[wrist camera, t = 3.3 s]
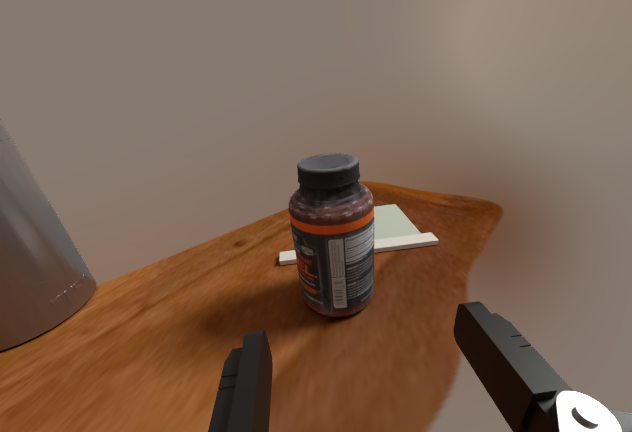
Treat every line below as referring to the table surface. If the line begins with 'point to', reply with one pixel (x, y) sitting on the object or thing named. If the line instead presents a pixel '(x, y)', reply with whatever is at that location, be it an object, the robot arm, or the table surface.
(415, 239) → the white flat t-shaped panel
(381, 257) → the table surface
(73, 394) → the table surface
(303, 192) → the supplement bottle
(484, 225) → the table surface
